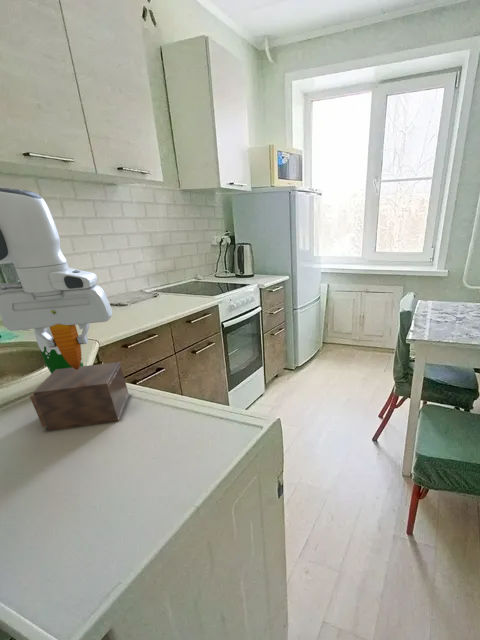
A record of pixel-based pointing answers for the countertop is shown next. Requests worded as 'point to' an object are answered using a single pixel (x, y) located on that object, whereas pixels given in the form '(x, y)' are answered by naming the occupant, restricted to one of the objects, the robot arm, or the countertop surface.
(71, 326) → the carrot
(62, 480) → the countertop surface
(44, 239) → the robot arm
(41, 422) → the drawer
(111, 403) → the cabinet
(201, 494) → the countertop surface
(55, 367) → the milk carton
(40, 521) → the countertop surface
